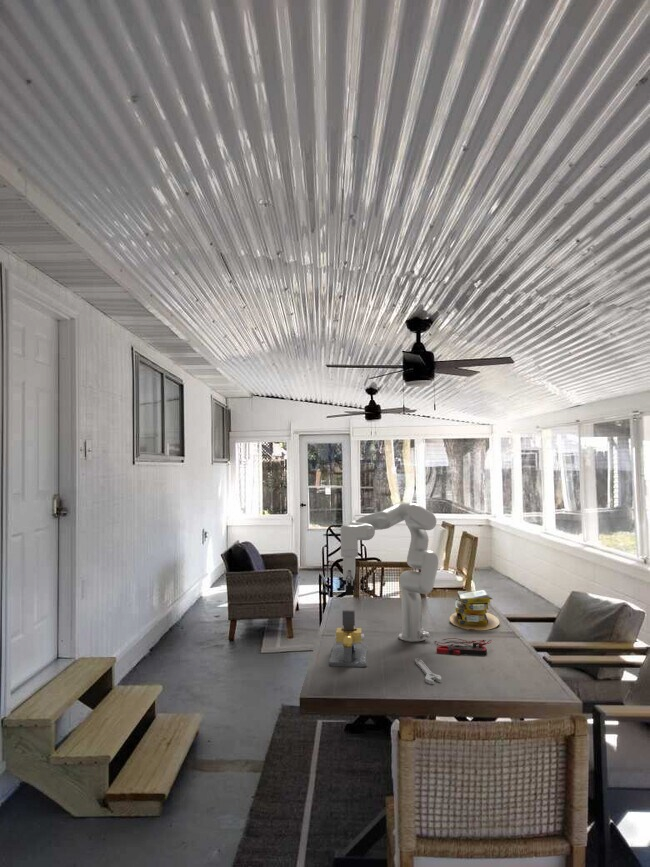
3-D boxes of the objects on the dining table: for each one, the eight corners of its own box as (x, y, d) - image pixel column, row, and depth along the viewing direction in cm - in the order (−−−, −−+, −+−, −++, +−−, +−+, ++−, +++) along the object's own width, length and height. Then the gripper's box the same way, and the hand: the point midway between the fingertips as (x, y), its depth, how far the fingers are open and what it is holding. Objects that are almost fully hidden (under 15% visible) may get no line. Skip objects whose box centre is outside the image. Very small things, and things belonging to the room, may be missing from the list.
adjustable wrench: (414, 662, 230) (414, 658, 230) (429, 662, 230) (429, 658, 230) (426, 684, 205) (426, 680, 205) (444, 684, 205) (443, 679, 205)
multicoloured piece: (334, 646, 249) (333, 621, 250) (367, 647, 248) (366, 622, 248) (329, 665, 225) (329, 638, 225) (366, 667, 223) (365, 638, 224)
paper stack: (498, 632, 271) (497, 597, 272) (447, 627, 279) (446, 594, 280) (499, 619, 294) (498, 587, 295) (452, 615, 302) (451, 584, 303)
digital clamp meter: (495, 647, 234) (435, 644, 239) (495, 658, 234) (435, 655, 239) (488, 632, 257) (434, 629, 262) (488, 641, 257) (434, 639, 262)
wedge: (342, 638, 238) (342, 610, 239) (354, 638, 238) (354, 610, 238) (342, 639, 236) (342, 611, 237) (354, 640, 236) (354, 611, 236)
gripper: (341, 550, 251) (342, 588, 249) (339, 556, 233) (340, 597, 232) (358, 549, 250) (359, 588, 249) (357, 556, 233) (358, 597, 232)
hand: (350, 592), depth 241 cm, fingers open, 9 cm apart
